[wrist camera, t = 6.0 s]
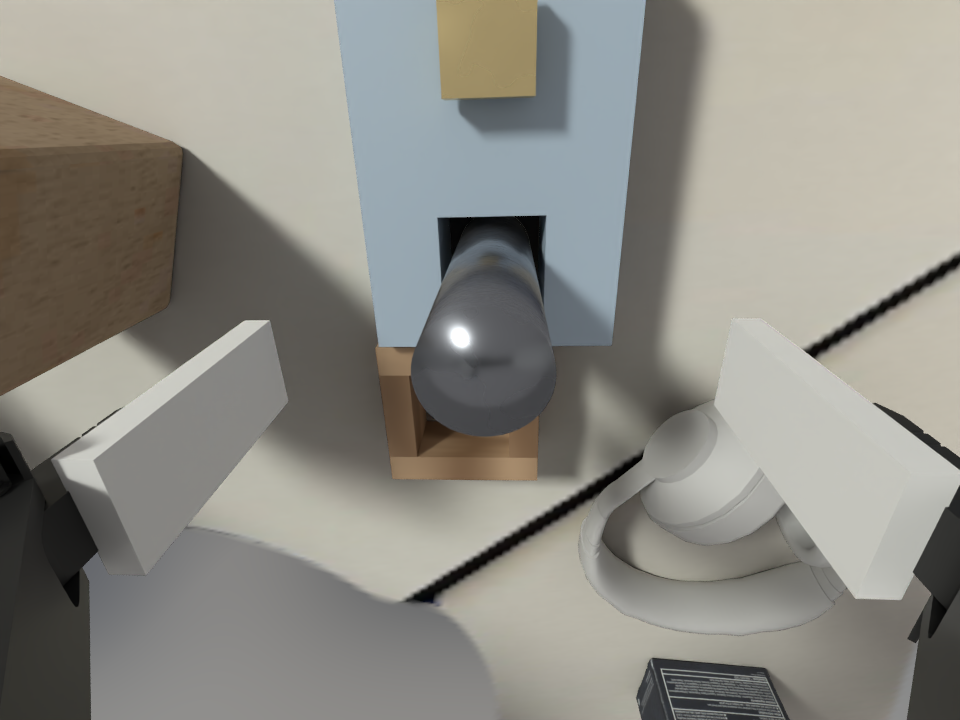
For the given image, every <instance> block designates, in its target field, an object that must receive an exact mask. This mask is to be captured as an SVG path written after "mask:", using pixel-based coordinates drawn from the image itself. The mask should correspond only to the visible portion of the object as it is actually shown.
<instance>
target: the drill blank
mask: <svg viewBox="0 0 960 720" xmlns="http://www.w3.org/2000/svg"><path fill="white" fill-rule="evenodd" d="M411 380H412V385H413V388H414V391H415V394H416V396H417V398H418V400H419V402H420V403H421V405H422V406H423V408H424V409H425V410H426V411H427V412H428V413H429V414H430V415H431V416H432V417H433V418H434V419H435V420H437V421H438V422H439V423H441V424H442V425H444V426H446V427H448V428H449V429H452V430H454V431H456V432H459V433H463V434H466V435H471V436H480V437H490V436H499V435H504V434H507V433H511V432H513V431H516V430H518V429H520V428H522V427H524V426H526V425H527V424H529V423H530V422H532V421H533V420H534V419H535V418H536V417H537V416H538V415H539V414H540V413H541V412H542V411H543V410H544V408H545V407H546V406H547V404H548V402H549V401H550V399H551V396H552V394H553V391H554V388H555V383H556V364H555V358H554V354H553V349H552V344H551V340H550V335H549V330H548V326H547V321H546V316H545V312H544V307H543V302H542V298H541V293H540V288H539V284H538V279H537V274H536V269H535V265H534V260H533V255H532V251H531V246H530V241H529V237H528V234H527V231H526V229H525V228H524V226H523V225H522V223H521V222H520V221H519V220H518V219H517V218H515V217H514V216H489V217H474V218H473V219H472V220H471V221H470V222H469V223H468V224H467V225H466V227H465V229H464V230H463V233H462V235H461V237H460V240H459V242H458V245H457V247H456V250H455V252H454V255H453V257H452V259H451V262H450V264H449V267H448V269H447V272H446V274H445V277H444V279H443V281H442V284H441V286H440V289H439V291H438V294H437V296H436V299H435V301H434V303H433V306H432V308H431V311H430V313H429V316H428V318H427V321H426V323H425V325H424V328H423V330H422V333H421V335H420V338H419V340H418V343H417V345H416V347H415V350H414V353H413V357H412V361H411Z"/></svg>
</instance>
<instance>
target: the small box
mask: <svg viewBox="0 0 960 720" xmlns="http://www.w3.org/2000/svg"><path fill="white" fill-rule="evenodd" d="M636 699H637V703H638V706H639V711H640V715H641V719H642V720H790V719H789V717H788V715H787V714H786V711H785V709H784V707H783V704H782V702H781V700H780V698H779V696H778V694H777V693H776V690H775V688H774V686H773V683H772V681H771V679H770V676H769V674H768V672H767V670H766V669H765V668H756V667H745V666H733V665H721V664H710V663H698V662H687V661H676V660H664V659H651V660H650V661H649V663H648V666H647V669H646V673H645V675H644V678H643V680H642V683H641V686H640V687H639V690H638V693H637V697H636Z"/></svg>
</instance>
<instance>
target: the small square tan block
mask: <svg viewBox="0 0 960 720" xmlns="http://www.w3.org/2000/svg"><path fill="white" fill-rule="evenodd" d="M537 2H538V0H436V8H437V27H438V45H439V63H440V82H441V99H443V100H445V101H447V100H477V99H506V98H534V97H535V96H536V53H537Z"/></svg>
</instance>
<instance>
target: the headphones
mask: <svg viewBox="0 0 960 720" xmlns="http://www.w3.org/2000/svg"><path fill="white" fill-rule="evenodd" d="M714 401H715V399H714V400H711V401H709V402H706V403H704V404H701V405H698V406H697V407H695V408H694V409H692V410H685V411H683V412H680V413H678V414H675V415H674V416H672V417H671V418H669V419H668V420H666V421H665V422H664V423H663V424H662V425H661V426H660V427H659V428H657V430H656V431H655V432H654V434H653V435H652V436H651V438H650V439H649V441H648V443H647V445H646V447H645V450H644V454H643V459H642V460H641V461H640V462H639V463H637V464H636V465H635V466H633V467H632V468H631V469H630V470H628V471H627V472H626V473H625V474H623V475H622V476H621V477H620V478H618V479H617V480H616V481H614V482H613V483H611V484H610V485H608V486H607V487H606V488H605V489H604V490H603V491H602V492H601V494H600V495H598V496H597V498H596V500H595V501H594V503H593V505H592V507H591V509H590V512H589V514H588V516H587V517H586V518H585V519H584V520H583V523H582V525H581V531H580V536H579V542H578V552H579V557H580V561H581V564H582V567H583V570H584V572H585V575H586V578H587V580H588V581H589V583H590V584H591V586H592V587H593V588H594V589H595V591H596V592H597V593H598V595H600V596H601V597H602V598H603V599H605V600H606V601H607V602H609V603H610V604H611V605H612V606H614V607H615V608H616V609H617V610H619V611H620V612H621V613H622V614H624V615H627V616H630V617H633V618H637V619H639V620H641V621H644V622H646V623H648V624H652V625H655V626H659V627H662V628H667V629H671V630H675V631H682V632H689V633H698V634H724V635H735V636H744V635H749V634H755V633H760V632H769V631H780V630H784V629H788V628H792V627H796V626H800V625H803V624H805V623H807V622H809V621H811V620H814V619H816V618H818V617H819V616H821V615H822V614H823V613H824V612H826V611H827V610H828V609H830V608H831V607H832V606H833V605H835V601H834V600H835V599H837V598H838V597H839V596H841V595H842V594H843V591H844V590H845V589H847V586H846V585H845V584H844V582H843V581H842V580H841V578H840V577H839V576H838V574H837V573H836V571H835V570H834V569H833V567H832V566H831V565H830V563H829V562H828V560H827V559H826V558H825V556H824V555H823V554H822V552H821V551H820V549H819V548H818V547H817V545H816V544H815V543H814V541H813V540H812V539H811V537H810V536H809V534H808V533H807V532H806V530H805V529H804V528H803V526H802V525H801V523H800V522H799V521H798V519H797V518H796V517H795V515H794V514H793V512H792V511H791V510H790V508H789V507H788V506H787V504H786V503H785V502H784V500H783V499H782V497H781V496H780V495H779V493H778V492H777V491H776V489H775V488H774V486H773V485H772V484H771V482H770V481H769V480H768V478H767V477H766V475H765V474H764V473H763V471H762V470H761V469H760V467H759V466H758V465H757V463H756V462H755V460H754V459H753V458H752V456H751V455H750V454H749V452H748V451H747V449H746V448H745V447H744V445H743V444H742V443H741V441H740V440H739V438H738V437H737V436H736V434H735V433H734V432H733V430H732V429H731V427H730V426H729V425H728V423H727V422H726V421H725V419H724V418H723V417H722V415H721V414H720V412H719V411H718V410H717V408H716V407H715V406H714ZM639 491H640V495H641V500H642V503H643V505H644V507H645V509H646V511H647V513H648V515H649V517H650V519H651V520H652V521H654V522H655V523H656V524H658V525H659V526H660V527H662V528H663V529H665V530H667V531H668V532H670V533H672V534H674V535H675V536H677V537H679V538H680V539H682V540H684V541H686V542H690V543H695V544H699V545H716V544H724V543H730V542H733V541H735V540H737V539H740V538H742V537H744V536H747V535H749V534H752V533H753V532H754V531H756V530H757V529H758V528H760V527H761V526H762V525H764V524H765V523H766V522H768V521H769V520H770V519H772V518H773V517H774V516H775V515H776V519H777V522H778V525H779V527H780V529H781V532H782V534H783V536H784V538H785V540H786V542H787V544H788V545H789V547H790V548H791V550H792V551H793V553H794V555H795V556H796V557H798V558H799V559H800V560H801V561H800V562H796V563H792V564H788V565H785V566H781V567H778V568H774V569H771V570H767V571H764V572H760V573H757V574H753V575H750V576H747V577H743V578H735V579H725V580H717V581H709V582H704V581H679V580H672V579H666V578H662V577H658V576H654V575H651V574H648V573H646V572H643V571H640V570H638V569H635V568H633V567H631V566H630V565H628V564H626V563H625V562H623V561H622V560H620V559H619V558H617V557H616V556H615V555H613V554H612V553H611V551H610V550H609V549H608V548H607V547H606V545H605V544H604V542H603V541H602V539H601V537H602V534H603V530H604V527H605V524H606V522H607V520H608V518H609V515H610V514H611V513H612V512H613V511H614V509H615V508H617V507H618V506H620V505H622V504H623V503H624V502H626V501H627V500H628V499H630V498H631V497H632V496H634V495H635V494H636V493H638V492H639Z"/></svg>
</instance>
